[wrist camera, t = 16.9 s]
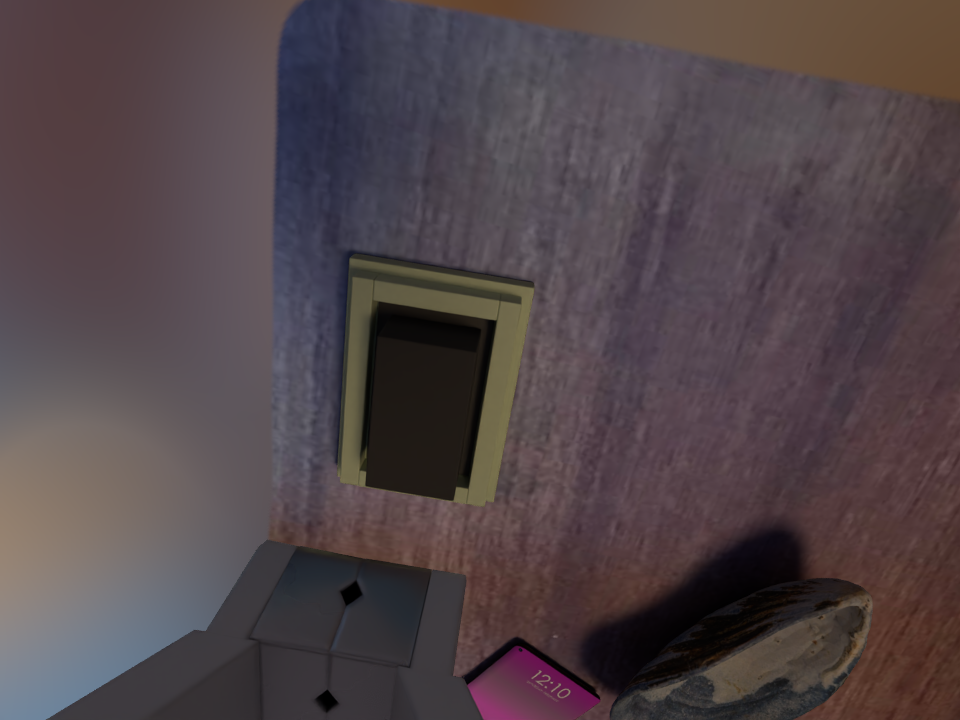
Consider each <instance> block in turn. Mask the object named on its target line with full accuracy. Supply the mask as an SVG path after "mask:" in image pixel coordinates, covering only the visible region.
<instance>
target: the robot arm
mask: <svg viewBox="0 0 960 720" xmlns="http://www.w3.org/2000/svg"><path fill="white" fill-rule="evenodd" d="M465 587H466V576H465V575H462V574H456V573H450V572H444V571H438V570H432V569H426V568H420V567H414V566H408V565H402V564H396V563H390V562H383V561H377V560H371V559H362V558H357V557H353V556H348V555H343V554H338V553H333V552H328V551H323V550H318V549H313V548H308V547H303V546H295V545H290V544H285V543H280V542H275V541H270V540H266V541H265V542H264V543H263V544H262V545H260V546H259V547H258V549H257V550H256V552H255V553H254V555H253V556H252V558H251V560H250V561H249V563H248V564H247V566H246V568H245V569H244V571H243V572H242V574H241V576H240V577H239V579H238V580H237V582H236V584H235V585H234V587H233V588H232V590H231V592H230V593H229V595H228V596H227V598H226V600H225V601H224V603H223V604H222V606H221V608H220V609H219V611H218V612H217V614H216V616H215V617H214V619H213V620H212V622H211V624H210V625H209V627H208V628H207V630H206V631H199V630H194V631H192V632H190V633H188V634H187V635H185V636H184V637H182V638H180V639H179V640H177V641H175V642H174V643H172V644H170V645H169V646H167V647H165V648H164V649H162V650H161V651H159V652H157V653H155V654H154V655H152V656H151V657H149V658H147V659H146V660H144V661H143V662H141V663H139V664H137V665H136V666H134V667H132V668H131V669H129V670H127V671H126V672H124V673H122V674H121V675H119V676H118V677H116V678H114V679H113V680H111V681H110V682H108V683H106V684H104V685H103V686H101V687H99V688H98V689H96V690H94V691H93V692H91V693H89V694H88V695H87V696H84V697H83V698H81V699H80V700H78V701H76V702H75V703H73V704H71V705H70V706H68V707H67V708H65V709H63V710H61V711H60V712H58V713H56V714H55V715H53V716H51V717H50V718H48V719H46V720H484V719H483V717H482V715H481V713H480V711H479V709H478V707H477V705H476V703H475V701H474V699H473V697H472V694H471V692H470V690H469V688H468V686H467V684H466V682H465V680H464V678H460V677H456V676H453V671H454V664H455V657H456V650H457V643H458V636H459V629H460V622H461V615H462V608H463V601H464V594H465Z"/></svg>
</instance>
